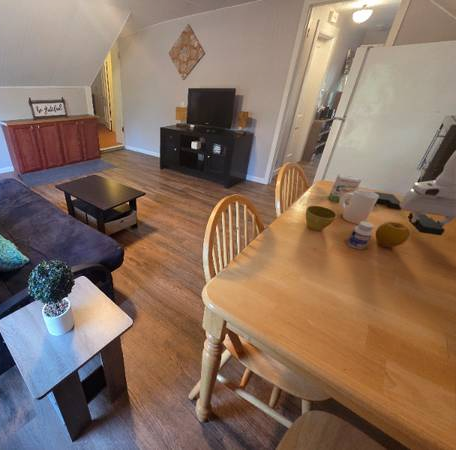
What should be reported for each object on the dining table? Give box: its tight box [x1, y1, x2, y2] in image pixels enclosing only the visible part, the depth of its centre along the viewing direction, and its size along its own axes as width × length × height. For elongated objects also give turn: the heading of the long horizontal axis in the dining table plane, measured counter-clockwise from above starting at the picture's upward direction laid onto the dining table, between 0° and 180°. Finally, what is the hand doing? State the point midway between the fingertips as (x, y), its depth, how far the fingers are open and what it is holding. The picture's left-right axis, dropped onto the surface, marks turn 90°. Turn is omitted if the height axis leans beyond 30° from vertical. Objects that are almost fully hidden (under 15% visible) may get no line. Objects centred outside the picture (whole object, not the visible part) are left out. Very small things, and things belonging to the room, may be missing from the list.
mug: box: [338, 188, 379, 225], centre depth 102 cm, size 8×12×12 cm
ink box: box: [328, 173, 362, 204], centre depth 116 cm, size 8×5×12 cm, turn 66°
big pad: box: [373, 191, 402, 210], centre depth 118 cm, size 14×12×2 cm
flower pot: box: [305, 205, 338, 231], centre depth 96 cm, size 10×10×7 cm
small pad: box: [407, 211, 446, 236], centre depth 92 cm, size 6×12×2 cm, turn 159°
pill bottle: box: [347, 221, 375, 250], centre depth 86 cm, size 5×5×9 cm
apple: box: [375, 221, 411, 248], centre depth 86 cm, size 8×8×9 cm
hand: (426, 223), depth 91 cm, fingers closed on small pad, 6 cm apart
